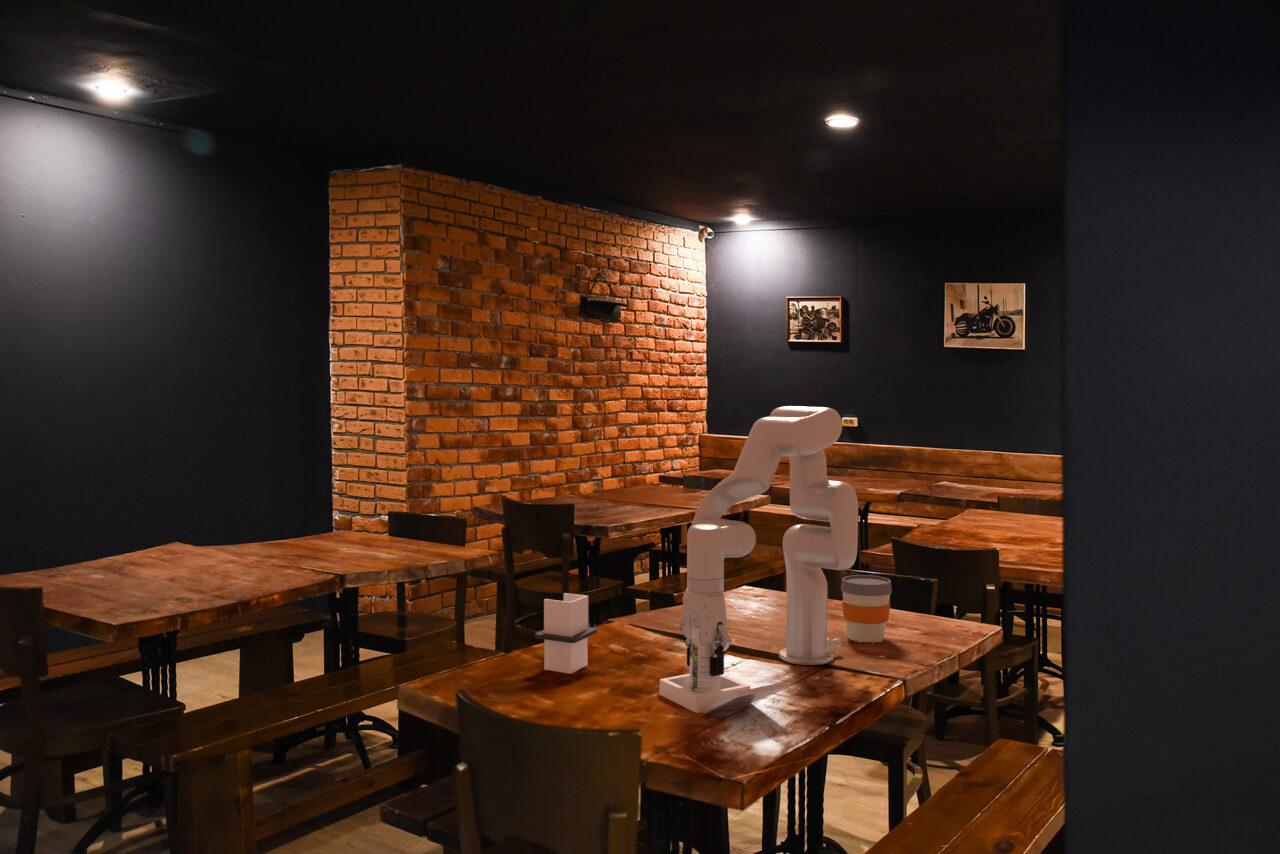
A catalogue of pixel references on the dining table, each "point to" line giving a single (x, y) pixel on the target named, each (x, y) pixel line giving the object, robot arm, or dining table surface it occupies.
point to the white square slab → (744, 697)
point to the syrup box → (701, 665)
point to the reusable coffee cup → (866, 606)
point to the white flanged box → (566, 633)
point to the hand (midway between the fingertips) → (705, 669)
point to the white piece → (681, 694)
